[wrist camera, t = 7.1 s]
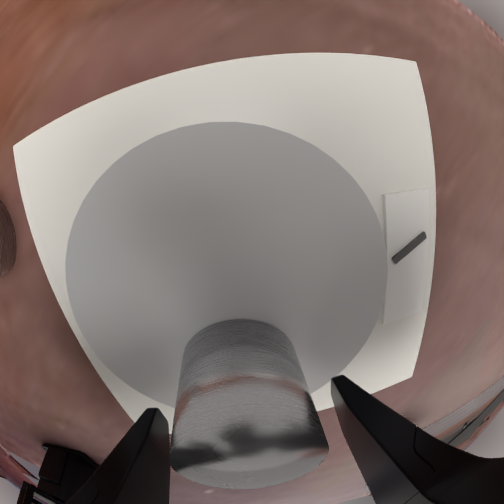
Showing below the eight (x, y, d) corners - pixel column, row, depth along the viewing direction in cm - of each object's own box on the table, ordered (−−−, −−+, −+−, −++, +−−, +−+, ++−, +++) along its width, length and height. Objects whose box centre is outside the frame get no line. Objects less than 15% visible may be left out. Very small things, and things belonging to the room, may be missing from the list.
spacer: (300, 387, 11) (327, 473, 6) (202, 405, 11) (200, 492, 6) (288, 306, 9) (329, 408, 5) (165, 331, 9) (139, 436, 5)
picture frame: (511, 365, 21) (394, 437, 20) (520, 375, 18) (403, 454, 17) (469, 430, 26) (364, 485, 25) (475, 439, 24) (368, 497, 23)
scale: (400, 360, 14) (416, 382, 12) (148, 414, 14) (142, 441, 12) (395, 69, 8) (424, 58, 6) (34, 144, 8) (3, 146, 6)
